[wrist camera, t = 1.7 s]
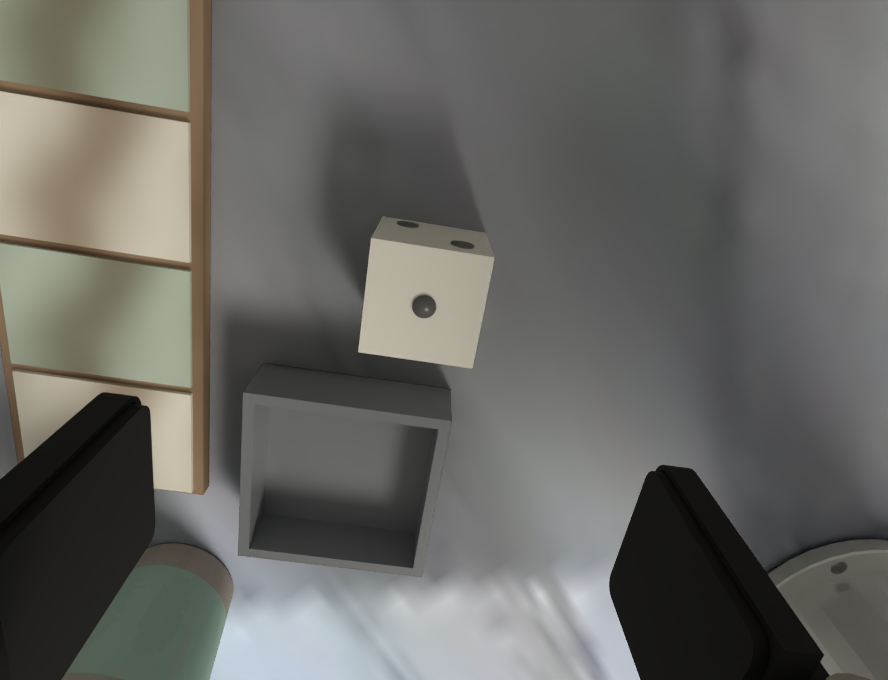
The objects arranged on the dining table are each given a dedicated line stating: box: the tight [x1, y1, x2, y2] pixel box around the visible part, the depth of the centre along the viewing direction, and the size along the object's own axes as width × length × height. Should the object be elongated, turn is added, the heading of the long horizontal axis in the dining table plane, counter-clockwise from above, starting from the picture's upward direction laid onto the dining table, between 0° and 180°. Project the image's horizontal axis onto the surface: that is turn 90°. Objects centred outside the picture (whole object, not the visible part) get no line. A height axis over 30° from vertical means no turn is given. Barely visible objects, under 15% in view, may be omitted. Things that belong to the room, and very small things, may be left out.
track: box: [0, 0, 212, 495], centre depth 23 cm, size 9×30×1 cm, turn 171°
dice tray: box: [238, 363, 452, 577], centre depth 27 cm, size 9×9×3 cm
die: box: [358, 216, 495, 369], centre depth 23 cm, size 5×5×5 cm
